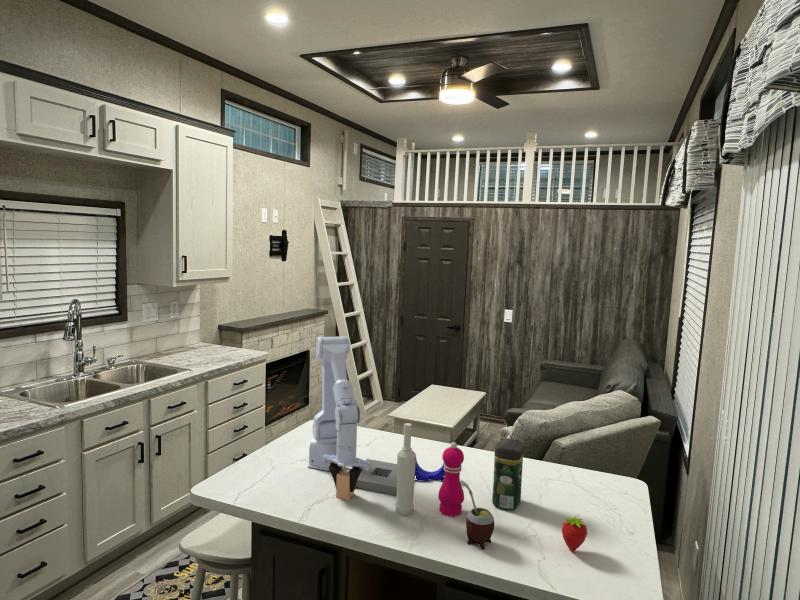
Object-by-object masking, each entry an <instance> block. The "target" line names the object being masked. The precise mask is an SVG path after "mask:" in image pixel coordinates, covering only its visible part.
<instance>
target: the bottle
mask: <svg viewBox="0 0 800 600" xmlns="http://www.w3.org/2000/svg"><path fill="white" fill-rule="evenodd" d="M412 428H413V427H412V423H410V422H409V423H408V422H406V423H404V424H403V446H402V448H401V450H400V451H398V452H397V455H396V457H397V458H396V459H397V462H396V464H397V495H396V503H395V506H394V507H395V511H396V513H397V514H398V515H401V516H410V515H411V514H413V513H414V508H415V505H414V493H415V491H414V490H415V480H414V479H415V463H416V459H417V454H416V452H415V451H414V450H413V448H412V447H411V445H412V444H411V443H412Z"/></svg>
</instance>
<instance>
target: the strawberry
mask: <svg viewBox="0 0 800 600" xmlns="http://www.w3.org/2000/svg"><path fill="white" fill-rule="evenodd" d="M579 515H580V514H577V515H575V516H574V517H570V516H567V518H564V520H566V521H564V522H563V524H562V527H561V534H562V539H563V540H564V542H565V545H566V546H567V548H568V550H569V551H570V552H571V553H574V552H575V551H576V550H578V548H579V547H581V545H582V544H583V543H584V542H585V540H586V538H587V536H588V527H587V524H585V523H584V522H583V521H582V520H583V519H582V518H577V517H578V516H579Z"/></svg>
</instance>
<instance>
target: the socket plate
mask: <svg viewBox="0 0 800 600" xmlns="http://www.w3.org/2000/svg"><path fill="white" fill-rule="evenodd" d="M365 461H368V462H370V469H369V470H368V471H366V470H365V469H362V471H361V473H360V475H359V477H358V480H357V483H356V487H358V488H357V489H362V490H366V489H367V490H368V491H371V490H372V492H376V491H377V493H383V494H387V495H393V496H397V463H393V462H387V461H381V460H377V459H369V458H367V459H366V460H365ZM376 474H378V475H376ZM379 475H383V476H379ZM385 476H387V477H385ZM356 487H355V488H356ZM367 490H366V491H367Z"/></svg>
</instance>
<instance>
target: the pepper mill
mask: <svg viewBox="0 0 800 600" xmlns="http://www.w3.org/2000/svg"><path fill="white" fill-rule="evenodd" d="M441 457H442V461H443V463H444V462H445V463H444V470H445V476H444V477H445V478H444V481H442V484H441V485H440V487H439V490H438V495H437V497H438V500H439V501H440V503H439V512H440V514H442V515H444V516H446V517H458V516H460V515H461V514H462V510H463V506H462V504H463V502H464V501H465V494H464V492H465V491H464V489H463V486H462V484H461V483H462V482H461V477H460V475H461V472H462V466H463V465H462V464H463V463H464V460H465V455H464V452H463V451H462V449H461V448H459V447H458V444H457V442H456V441H455V442H454V441H452V442H451V443H450V446H449V447H446V448H445V449H444V450H443V452H442V456H441Z"/></svg>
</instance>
